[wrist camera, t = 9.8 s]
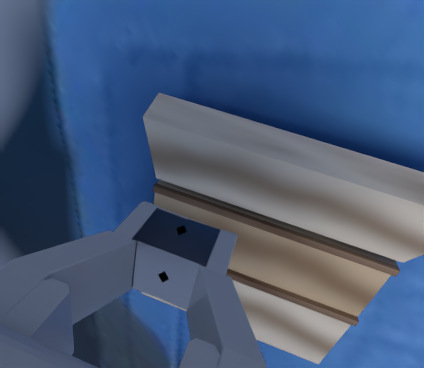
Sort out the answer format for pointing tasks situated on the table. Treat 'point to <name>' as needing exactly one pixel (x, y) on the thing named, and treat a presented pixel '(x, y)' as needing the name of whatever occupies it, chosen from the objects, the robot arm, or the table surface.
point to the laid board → (287, 256)
